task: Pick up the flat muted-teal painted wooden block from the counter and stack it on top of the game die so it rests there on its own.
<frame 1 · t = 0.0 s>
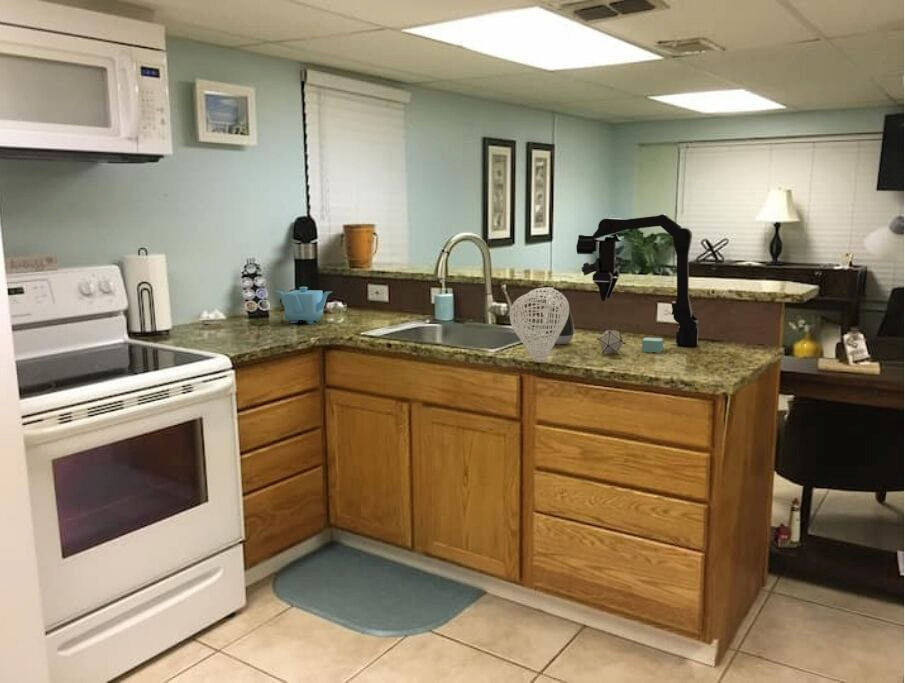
hand: (605, 299, 273), 15 cm above the counter, tool pointing down, fingers open, 9 cm apart
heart: (539, 362, 239), on the counter
game die: (610, 353, 252), on the counter
teakettle: (303, 323, 322), on the counter
teal block: (652, 351, 256), on the counter
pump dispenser: (559, 344, 271), on the counter
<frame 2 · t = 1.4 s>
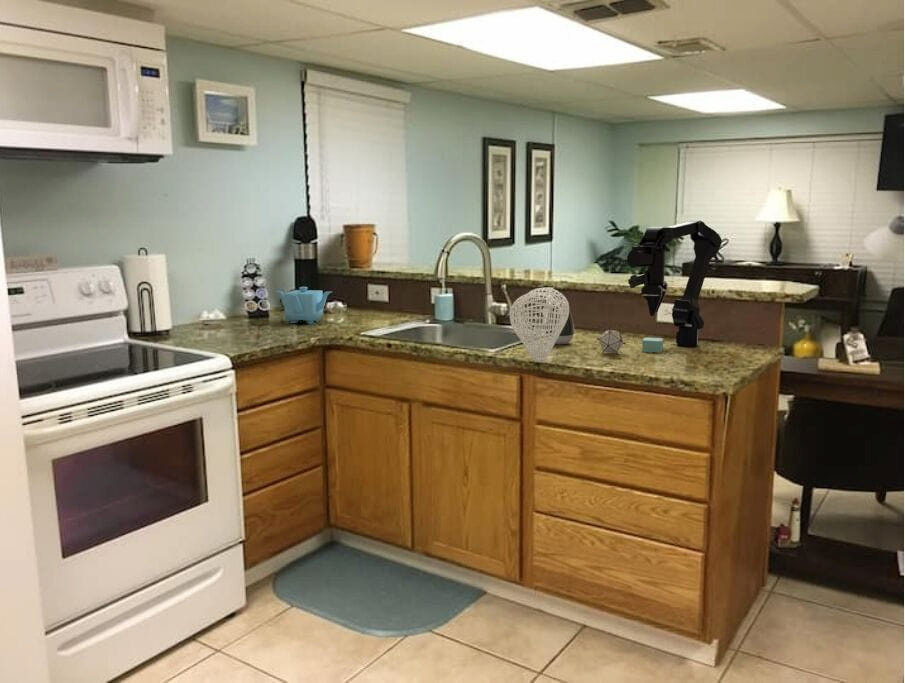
hand: (653, 314, 254), 12 cm above the counter, tool pointing down, fingers open, 9 cm apart
nothing on the counter moved.
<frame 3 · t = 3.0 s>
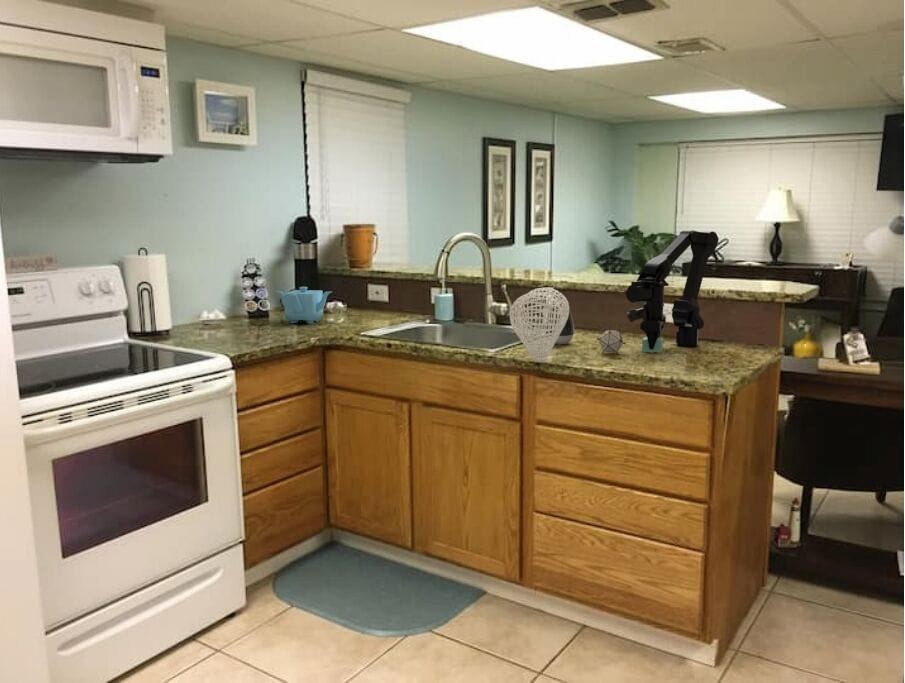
hand: (652, 347, 256), 1 cm above the counter, tool pointing down, fingers closed on teal block, 6 cm apart
teal block: (652, 350, 256), on the counter, touching gripper
everything else where it was.
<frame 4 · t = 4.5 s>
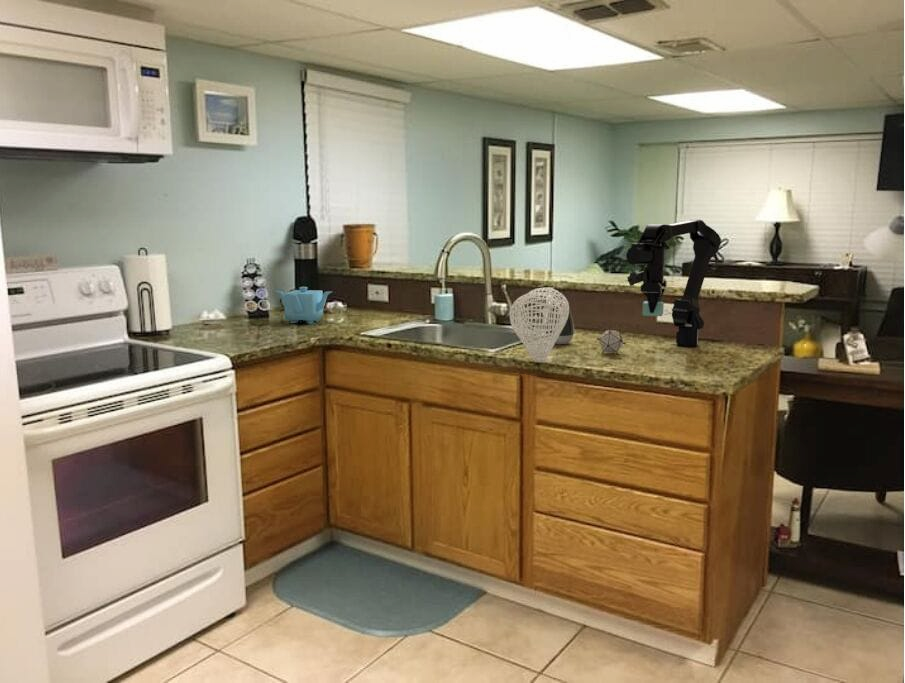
hand: (653, 311, 254), 13 cm above the counter, tool pointing down, fingers closed on teal block, 6 cm apart
teal block: (652, 314, 254), point 12 cm above the counter, touching gripper
everything else where it was.
when the fingers open (10 cm above the counter, at t = 6.3 s): teal block drops 2 cm, resting on game die.
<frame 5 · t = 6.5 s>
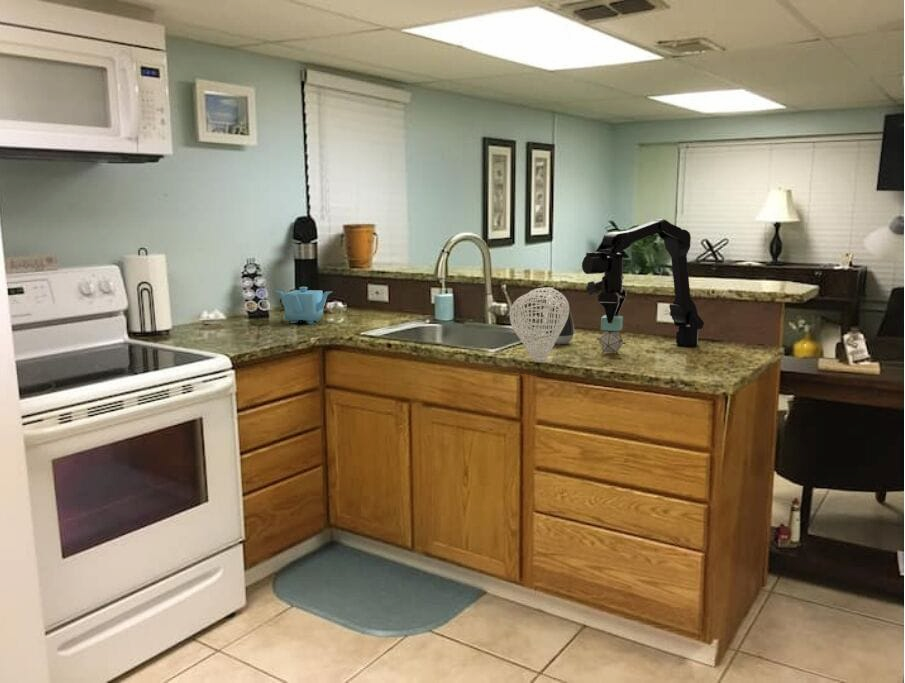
hand: (612, 321, 251), 10 cm above the counter, tool pointing down, fingers open, 8 cm apart
game die: (610, 353, 252), on the counter, touching teal block
teal block: (611, 329, 251), point 8 cm above the counter, touching game die
everything else where it was.
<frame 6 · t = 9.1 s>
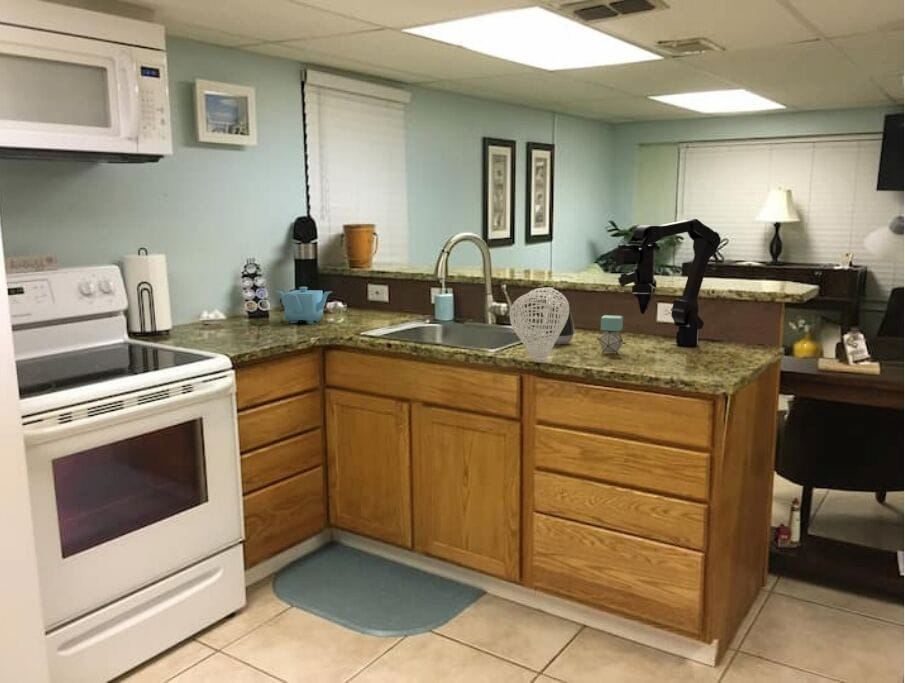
hand: (644, 311, 256), 13 cm above the counter, tool pointing down, fingers open, 9 cm apart
nothing on the counter moved.
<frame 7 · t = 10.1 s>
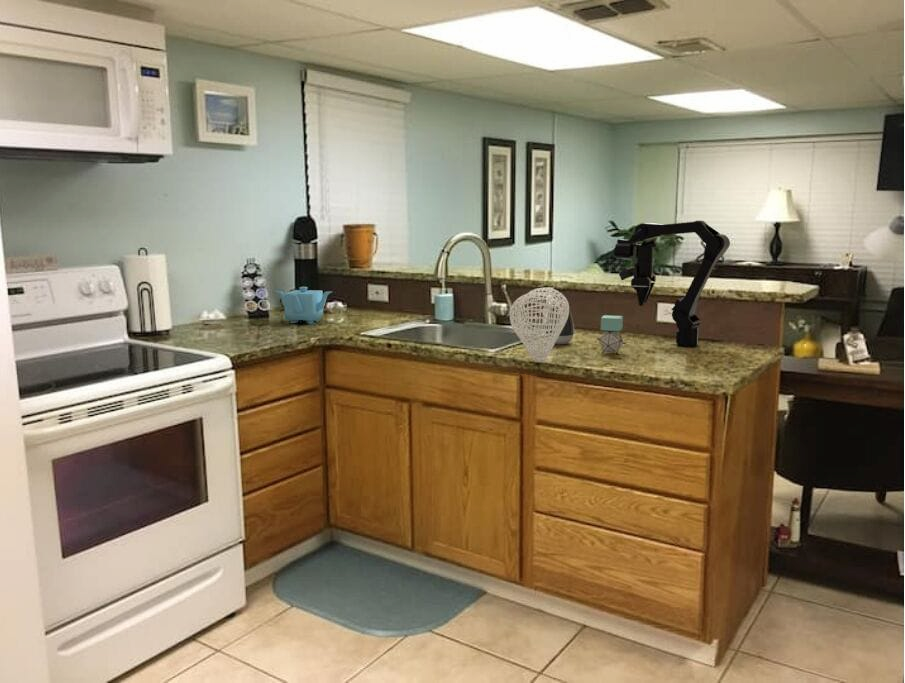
hand: (642, 304, 273), 13 cm above the counter, tool pointing down, fingers open, 9 cm apart
nothing on the counter moved.
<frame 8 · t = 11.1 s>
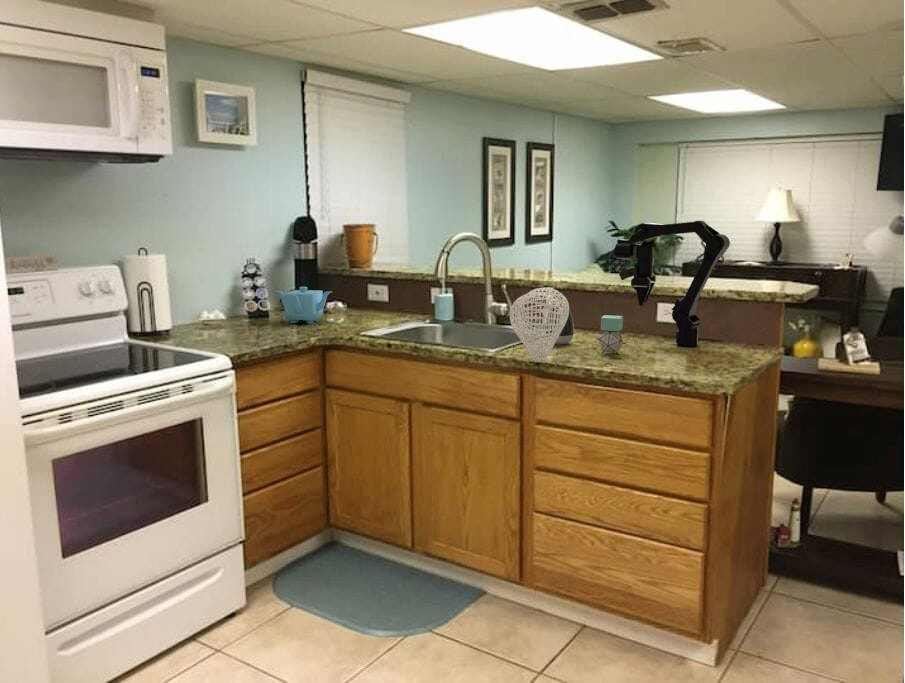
hand: (642, 304, 273), 13 cm above the counter, tool pointing down, fingers open, 9 cm apart
nothing on the counter moved.
at the end: teal block inside the target area on the game die (0.0 cm from its centre), point 8.1 cm above the game die's base; the gripper is holding nothing; teal block touching game die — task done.
